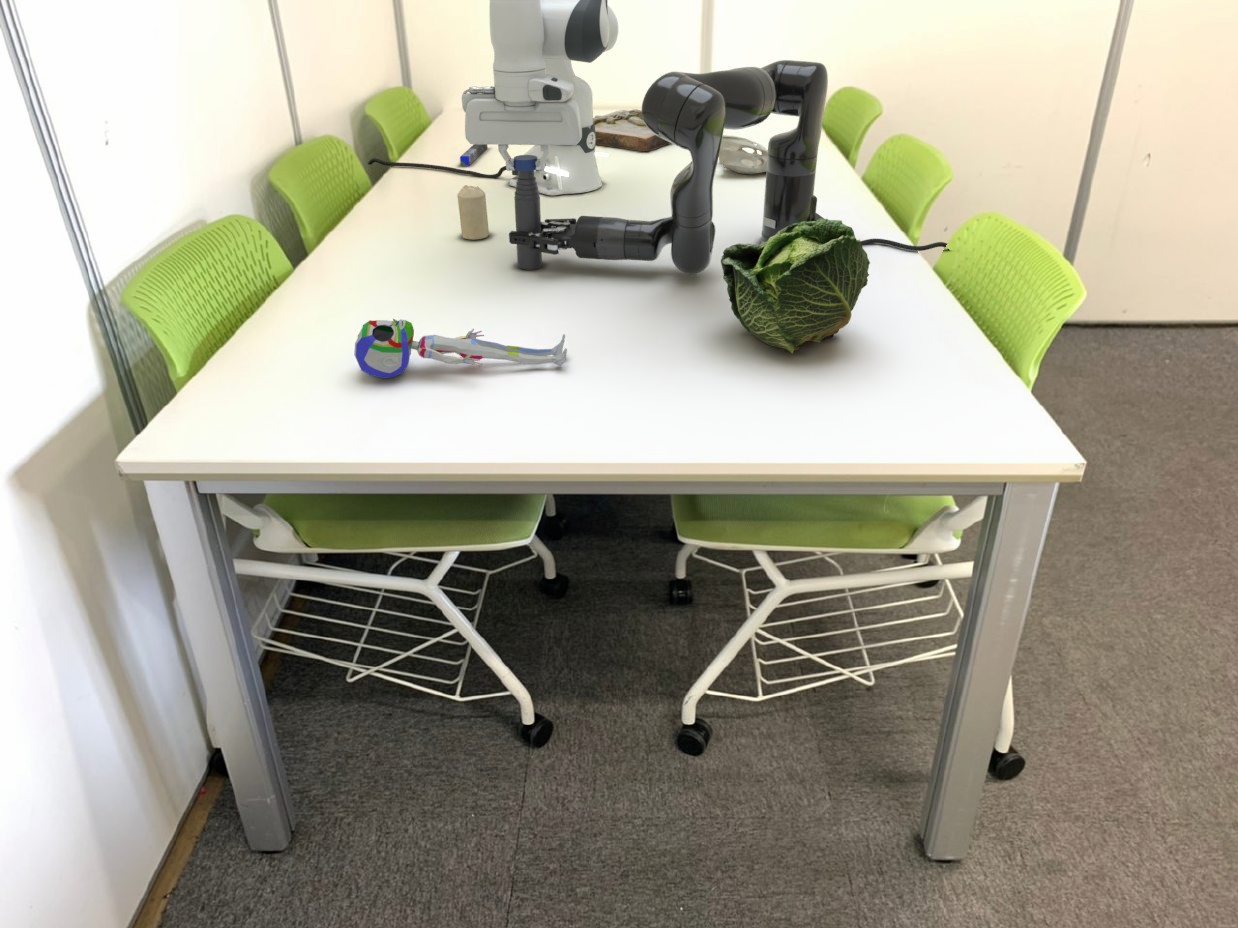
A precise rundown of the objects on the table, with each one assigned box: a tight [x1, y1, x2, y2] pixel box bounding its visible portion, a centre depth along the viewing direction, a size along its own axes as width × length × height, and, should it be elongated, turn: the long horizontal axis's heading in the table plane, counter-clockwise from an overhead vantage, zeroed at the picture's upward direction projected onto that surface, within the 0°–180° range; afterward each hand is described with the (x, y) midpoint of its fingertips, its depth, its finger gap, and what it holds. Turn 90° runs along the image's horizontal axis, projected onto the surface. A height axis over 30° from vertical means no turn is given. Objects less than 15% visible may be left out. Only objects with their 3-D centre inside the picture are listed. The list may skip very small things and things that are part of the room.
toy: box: [353, 318, 568, 379], centre depth 130 cm, size 10×8×30 cm
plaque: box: [593, 108, 671, 152], centre depth 257 cm, size 30×7×30 cm
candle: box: [456, 184, 490, 240], centre depth 181 cm, size 6×6×10 cm
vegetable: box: [720, 217, 871, 354], centre depth 134 cm, size 20×19×20 cm
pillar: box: [459, 144, 488, 167], centre depth 240 cm, size 2×2×20 cm
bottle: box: [513, 170, 543, 271], centre depth 164 cm, size 5×5×19 cm
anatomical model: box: [718, 134, 768, 175], centre depth 221 cm, size 15×9×25 cm
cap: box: [513, 154, 537, 171], centre depth 159 cm, size 4×4×2 cm
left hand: (526, 170), depth 159 cm, fingers closed on cap, 4 cm apart
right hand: (514, 233), depth 166 cm, fingers closed on bottle, 4 cm apart
